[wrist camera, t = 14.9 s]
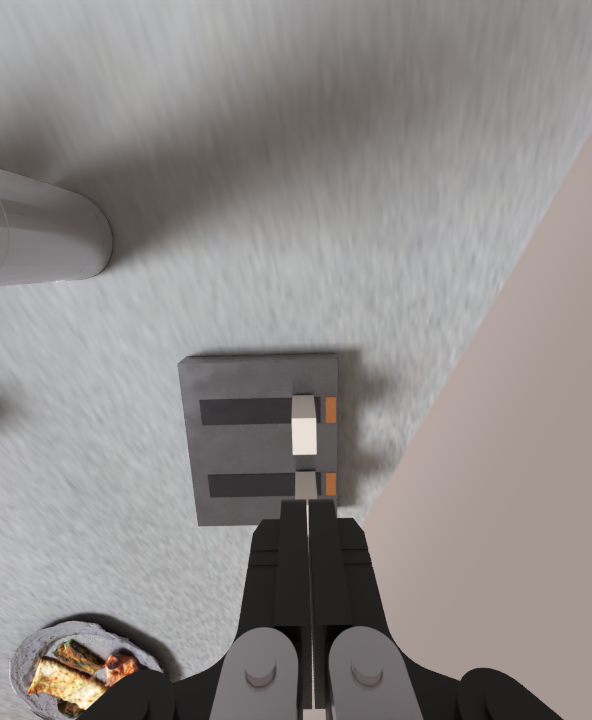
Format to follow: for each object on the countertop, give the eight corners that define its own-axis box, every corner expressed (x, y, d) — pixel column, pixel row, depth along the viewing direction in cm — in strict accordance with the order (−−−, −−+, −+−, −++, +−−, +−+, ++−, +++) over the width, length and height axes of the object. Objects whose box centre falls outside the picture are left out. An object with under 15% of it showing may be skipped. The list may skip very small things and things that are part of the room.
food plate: (198, 667, 56) (191, 693, 52) (126, 738, 61) (115, 766, 58) (63, 588, 52) (46, 610, 49) (-1, 671, 58) (-20, 696, 54)
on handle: (293, 427, 40) (292, 454, 34) (292, 395, 39) (291, 418, 33) (313, 426, 40) (316, 454, 34) (313, 395, 39) (316, 417, 33)
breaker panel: (204, 510, 47) (198, 526, 44) (185, 356, 41) (177, 364, 38) (334, 507, 47) (337, 524, 44) (335, 353, 41) (338, 360, 38)
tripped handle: (296, 499, 43) (296, 536, 37) (295, 471, 42) (295, 505, 36) (315, 499, 43) (318, 536, 37) (315, 471, 42) (317, 504, 36)
